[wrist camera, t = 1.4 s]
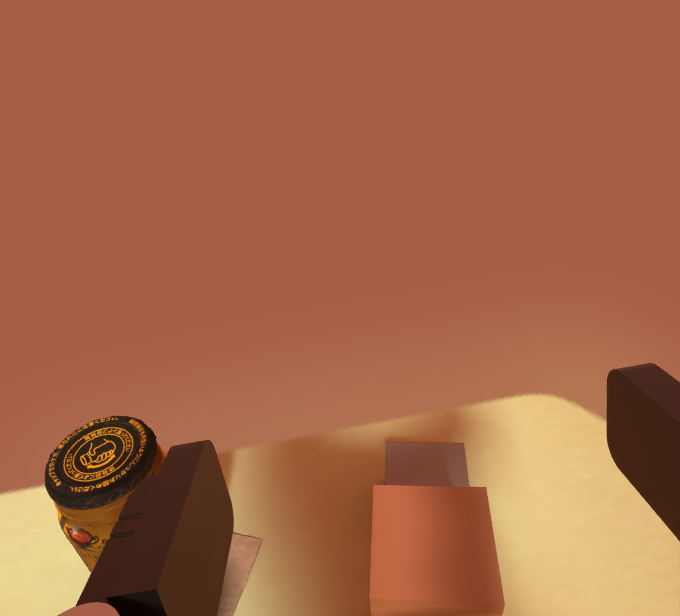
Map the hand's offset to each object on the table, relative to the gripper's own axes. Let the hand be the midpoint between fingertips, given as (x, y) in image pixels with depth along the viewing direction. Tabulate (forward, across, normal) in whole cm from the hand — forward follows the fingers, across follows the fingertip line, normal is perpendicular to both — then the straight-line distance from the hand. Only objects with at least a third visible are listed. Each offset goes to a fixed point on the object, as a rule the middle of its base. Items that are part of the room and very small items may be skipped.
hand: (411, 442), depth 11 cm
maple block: (+11, 0, +21) cm, 24 cm away
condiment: (+16, +14, +19) cm, 29 cm away
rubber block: (+19, -2, +19) cm, 27 cm away
